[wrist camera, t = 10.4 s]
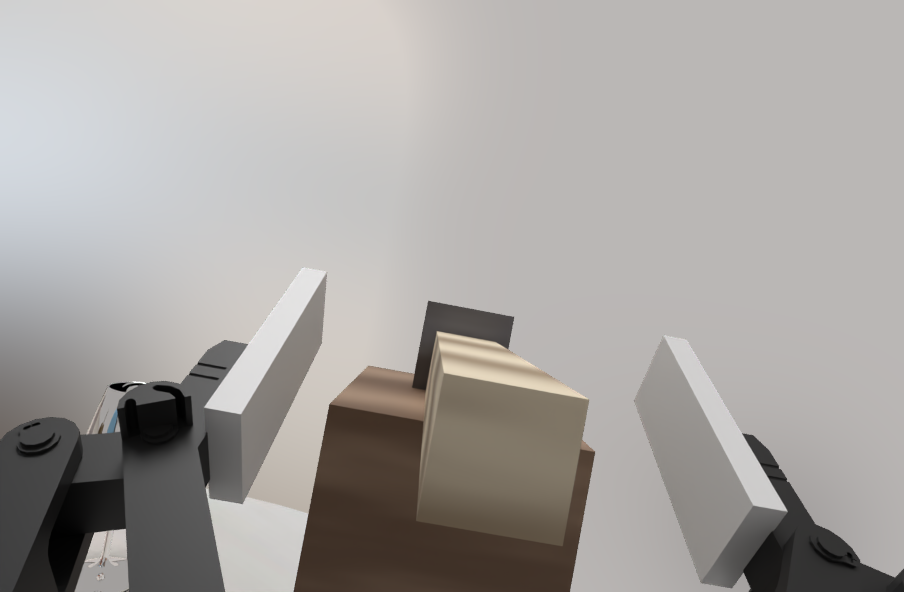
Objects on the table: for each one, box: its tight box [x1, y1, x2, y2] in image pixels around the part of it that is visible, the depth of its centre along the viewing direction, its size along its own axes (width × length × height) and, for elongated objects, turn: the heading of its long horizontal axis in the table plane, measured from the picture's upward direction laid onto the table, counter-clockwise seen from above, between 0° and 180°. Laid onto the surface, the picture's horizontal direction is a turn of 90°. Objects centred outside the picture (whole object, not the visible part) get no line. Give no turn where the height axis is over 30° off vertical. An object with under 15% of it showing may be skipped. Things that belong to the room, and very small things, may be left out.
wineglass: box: [75, 382, 146, 592], centre depth 55 cm, size 8×8×20 cm
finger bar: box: [412, 301, 589, 546], centre depth 21 cm, size 20×4×4 cm, turn 2°
